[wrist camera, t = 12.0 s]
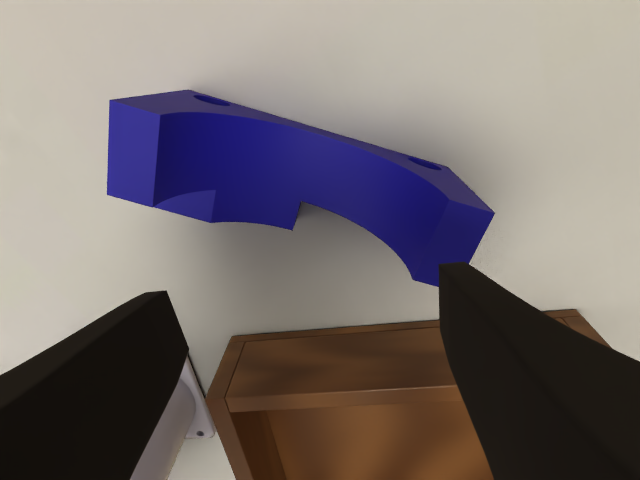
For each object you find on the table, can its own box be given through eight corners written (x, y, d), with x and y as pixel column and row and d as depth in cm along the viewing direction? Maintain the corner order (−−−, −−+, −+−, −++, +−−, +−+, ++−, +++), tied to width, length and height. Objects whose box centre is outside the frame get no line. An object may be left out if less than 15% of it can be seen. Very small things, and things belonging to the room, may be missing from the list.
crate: (290, 521, 30) (281, 595, 26) (231, 335, 22) (204, 399, 18) (540, 518, 27) (575, 599, 23) (576, 308, 20) (637, 374, 15)
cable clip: (178, 184, 18) (106, 235, 13) (188, 89, 16) (109, 100, 11) (410, 250, 19) (436, 325, 13) (447, 166, 17) (495, 213, 11)
